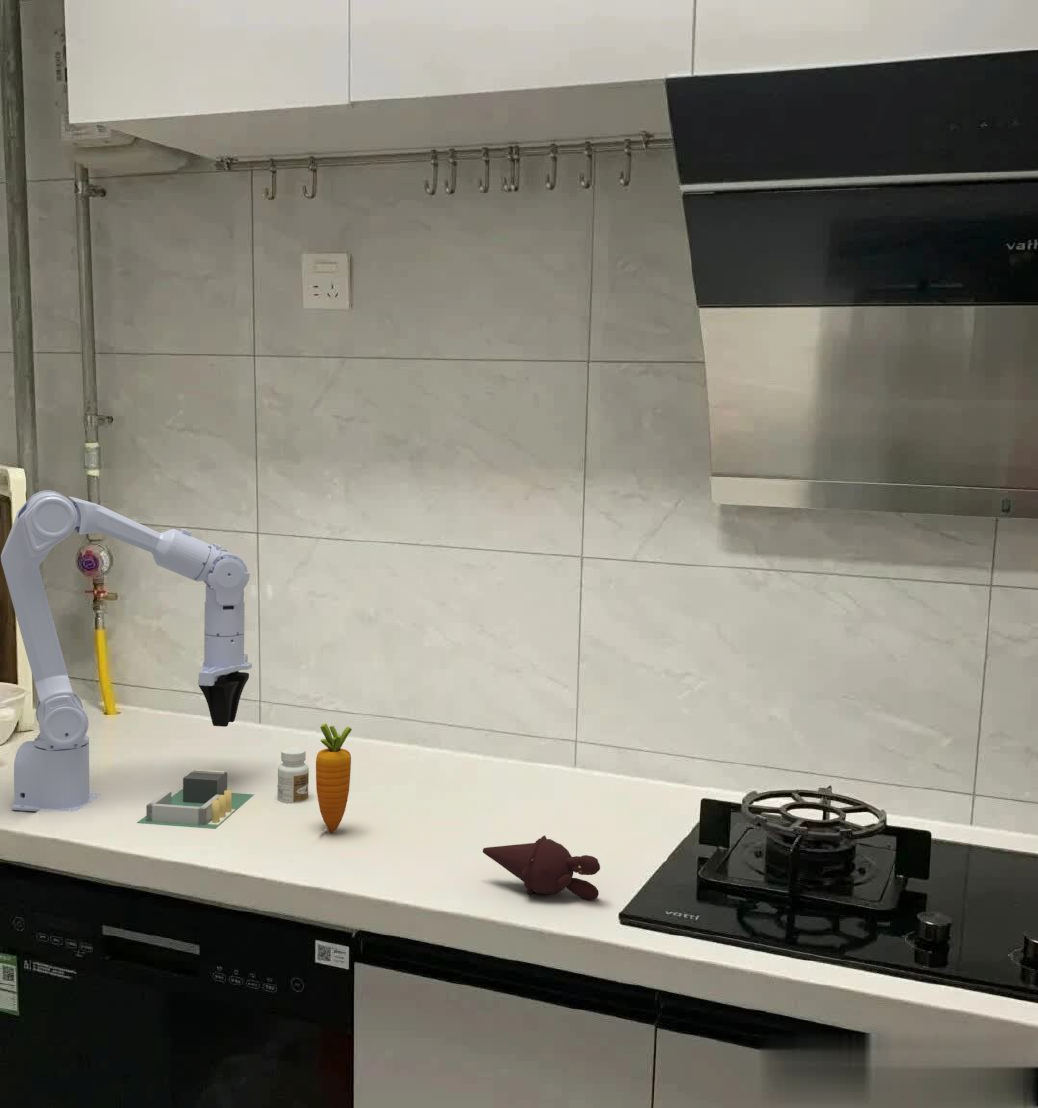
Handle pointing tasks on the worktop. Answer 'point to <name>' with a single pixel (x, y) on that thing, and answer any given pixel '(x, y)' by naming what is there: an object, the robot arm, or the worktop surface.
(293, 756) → the pill bottle
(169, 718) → the worktop surface
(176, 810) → the header board
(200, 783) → the plug block
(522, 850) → the icecream
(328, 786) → the carrot
